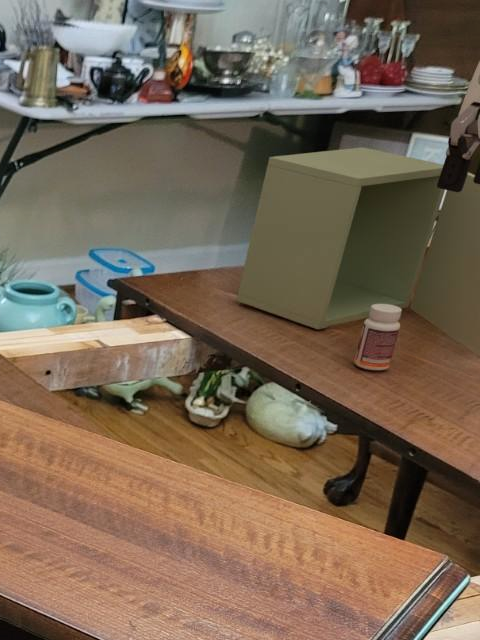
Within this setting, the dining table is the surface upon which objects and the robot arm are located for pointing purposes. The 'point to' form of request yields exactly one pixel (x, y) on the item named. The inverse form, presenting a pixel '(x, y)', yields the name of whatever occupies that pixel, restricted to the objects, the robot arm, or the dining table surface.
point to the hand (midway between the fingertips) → (467, 187)
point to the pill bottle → (378, 337)
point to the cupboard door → (454, 269)
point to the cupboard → (339, 234)
